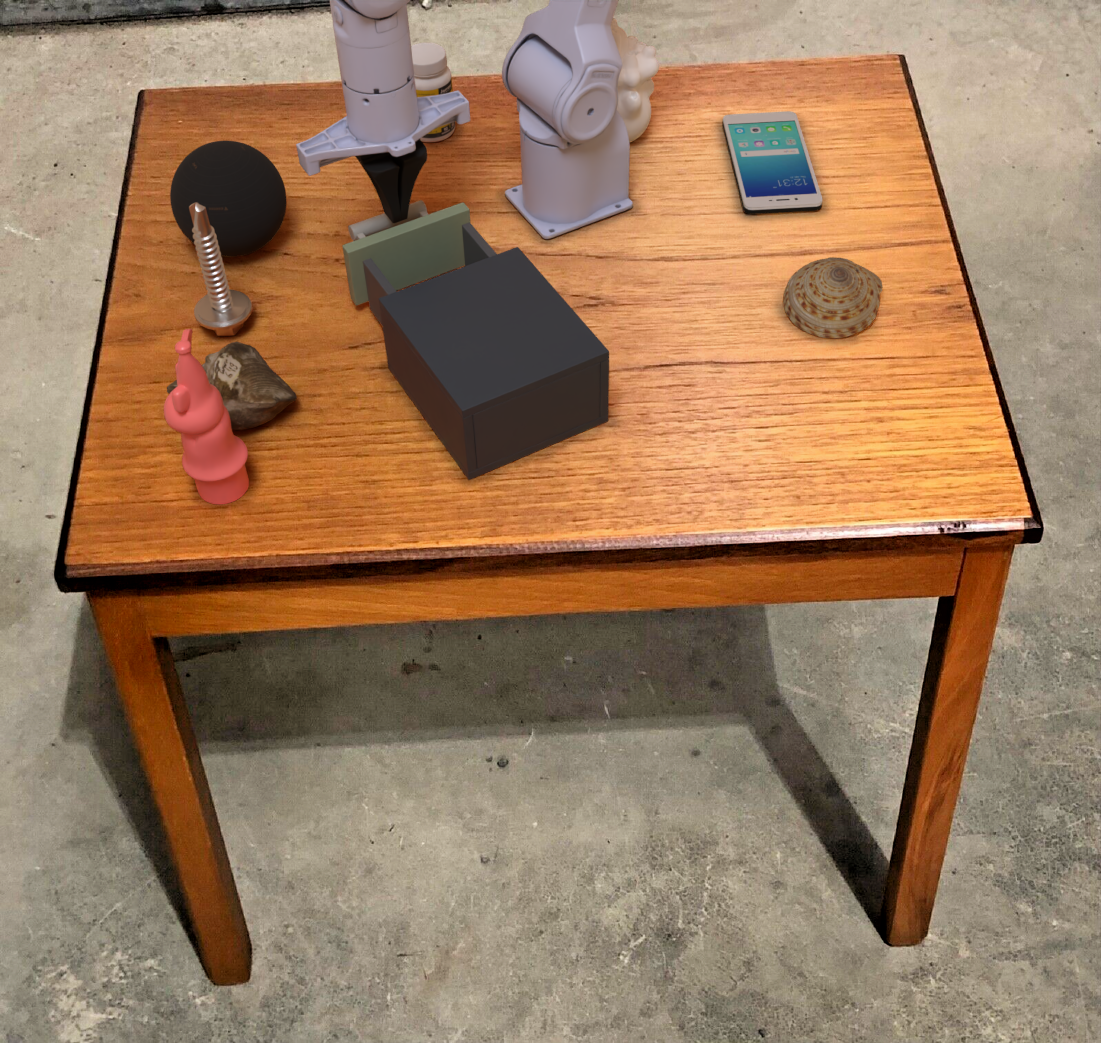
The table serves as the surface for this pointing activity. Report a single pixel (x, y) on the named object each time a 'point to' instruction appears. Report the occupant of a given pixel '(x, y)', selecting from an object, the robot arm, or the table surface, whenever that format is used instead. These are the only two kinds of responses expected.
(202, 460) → the figurine
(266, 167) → the speaker
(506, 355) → the cabinet
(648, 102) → the figurine
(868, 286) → the seashell
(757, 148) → the smartphone
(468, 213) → the drawer
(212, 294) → the screw
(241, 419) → the fossilized seashell
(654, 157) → the table surface
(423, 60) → the supplement bottle
